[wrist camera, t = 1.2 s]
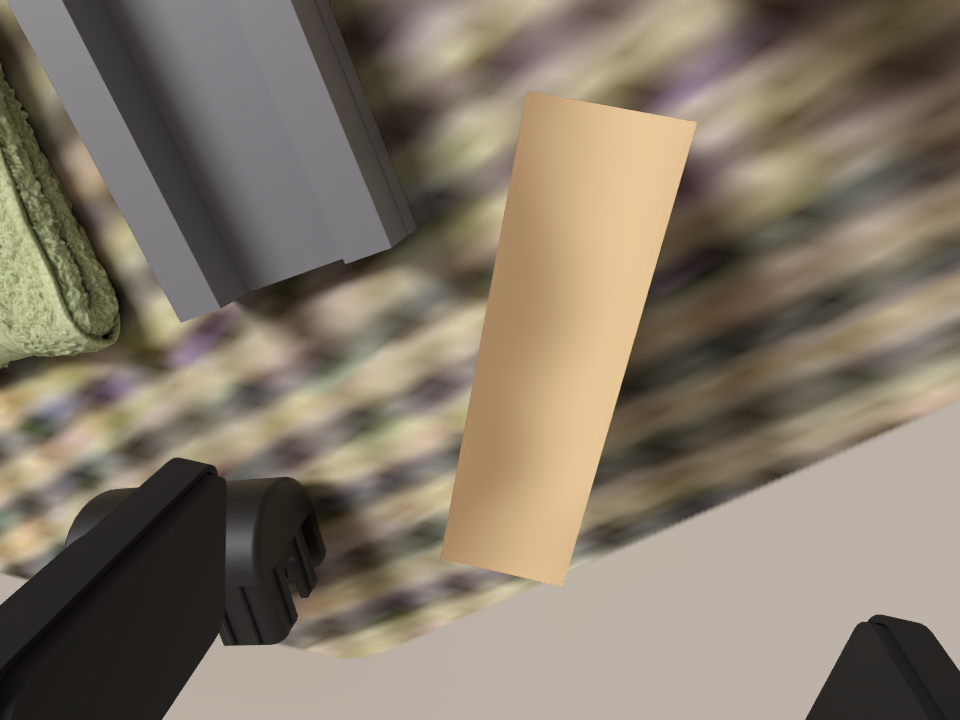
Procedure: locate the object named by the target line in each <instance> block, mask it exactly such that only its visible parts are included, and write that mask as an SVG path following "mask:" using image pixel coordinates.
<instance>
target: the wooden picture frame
mask: <svg viewBox="0 0 960 720" xmlns="http://www.w3.org/2000/svg"><path fill="white" fill-rule="evenodd" d="M696 125H697V122H692V121H686V120H681V119H675V118H670V117H665V116H659V115H654V114H649V113H643V112H638V111H632V110H627V109H622V108H616V107H611V106H606V105H600V104H595V103H589V102H584V101H579V100H573V99H568V98H562V97H557V96H552V95H546V94H541V93H536V92H530V91H527V94H526V99H525V104H524V110H523V115H522V121H521V126H520V131H519V137H518V142H517V148H516V153H515V158H514V164H513V169H512V175H511V180H510V185H509V191H508V196H507V202H506V207H505V212H504V218H503V223H502V229H501V234H500V240H499V245H498V250H497V256H496V261H495V267H494V272H493V277H492V283H491V288H490V294H489V299H488V304H487V310H486V315H485V321H484V326H483V331H482V337H481V342H480V348H479V353H478V358H477V364H476V369H475V375H474V380H473V385H472V391H471V396H470V402H469V407H468V412H467V418H466V423H465V429H464V434H463V440H462V445H461V450H460V456H459V461H458V467H457V472H456V477H455V483H454V488H453V494H452V499H451V504H450V510H449V515H448V521H447V526H446V531H445V537H444V542H443V548H442V553H441V559H446V560H450V561H454V562H459V563H463V564H467V565H472V566H476V567H480V568H485V569H489V570H493V571H498V572H502V573H506V574H511V575H515V576H519V577H524V578H528V579H532V580H537V581H541V582H545V583H550V584H554V585H559V586H563V585H564V581H565V578H566V574H567V571H568V567H569V564H570V560H571V557H572V553H573V550H574V546H575V543H576V540H577V536H578V533H579V529H580V526H581V522H582V519H583V515H584V512H585V508H586V505H587V502H588V498H589V495H590V491H591V488H592V484H593V481H594V477H595V474H596V470H597V467H598V463H599V460H600V457H601V453H602V450H603V446H604V443H605V439H606V436H607V432H608V429H609V425H610V422H611V419H612V415H613V412H614V408H615V405H616V401H617V398H618V394H619V391H620V387H621V384H622V380H623V377H624V374H625V370H626V367H627V363H628V360H629V356H630V353H631V349H632V346H633V342H634V339H635V336H636V332H637V329H638V325H639V322H640V318H641V315H642V311H643V308H644V304H645V301H646V297H647V294H648V291H649V287H650V284H651V280H652V277H653V273H654V270H655V266H656V263H657V259H658V256H659V253H660V249H661V246H662V242H663V239H664V235H665V232H666V228H667V225H668V221H669V218H670V214H671V211H672V208H673V204H674V201H675V197H676V194H677V190H678V187H679V183H680V180H681V176H682V173H683V170H684V166H685V163H686V159H687V156H688V152H689V149H690V145H691V142H692V138H693V135H694V132H695V128H696Z"/></svg>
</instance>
